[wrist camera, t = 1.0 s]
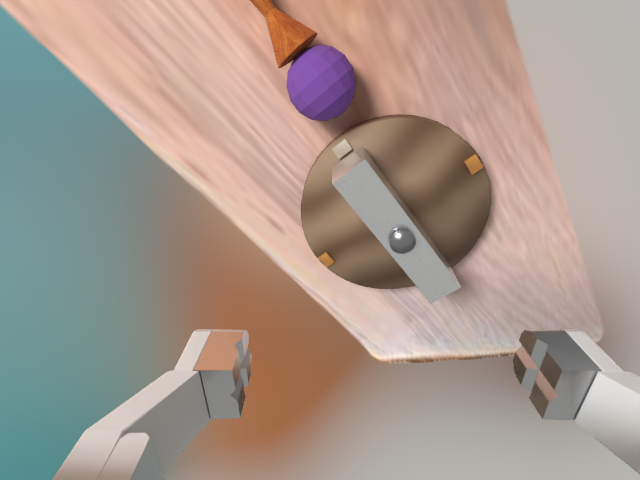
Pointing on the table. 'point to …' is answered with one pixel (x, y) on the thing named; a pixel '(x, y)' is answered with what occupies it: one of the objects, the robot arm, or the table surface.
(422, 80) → the table surface
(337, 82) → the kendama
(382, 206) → the bar
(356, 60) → the table surface
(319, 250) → the lock plate
